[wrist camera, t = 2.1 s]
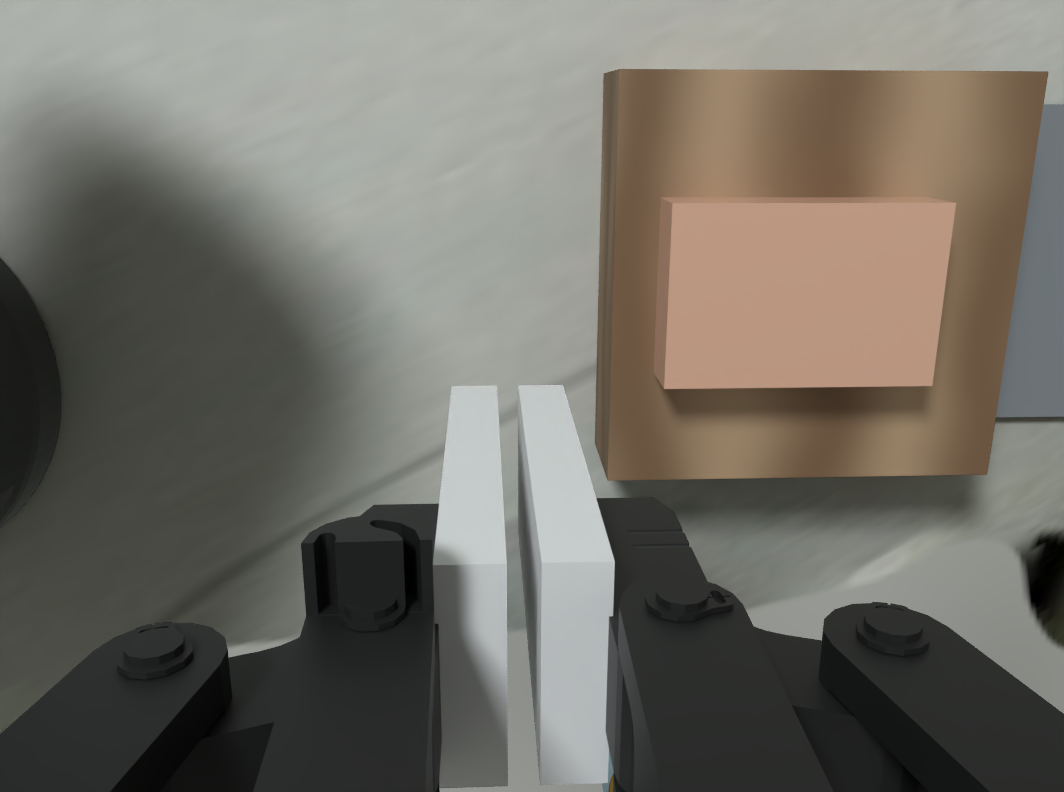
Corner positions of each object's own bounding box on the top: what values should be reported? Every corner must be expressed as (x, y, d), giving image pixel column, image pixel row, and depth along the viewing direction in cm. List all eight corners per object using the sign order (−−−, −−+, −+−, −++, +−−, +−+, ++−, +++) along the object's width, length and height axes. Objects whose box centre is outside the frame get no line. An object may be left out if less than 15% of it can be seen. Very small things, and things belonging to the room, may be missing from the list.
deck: (594, 443, 38) (607, 480, 34) (603, 73, 34) (619, 69, 30) (937, 438, 39) (987, 474, 35) (985, 75, 35) (1048, 71, 31)
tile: (653, 373, 33) (663, 388, 31) (660, 197, 31) (672, 203, 29) (906, 370, 34) (932, 386, 32) (927, 196, 32) (956, 203, 30)
